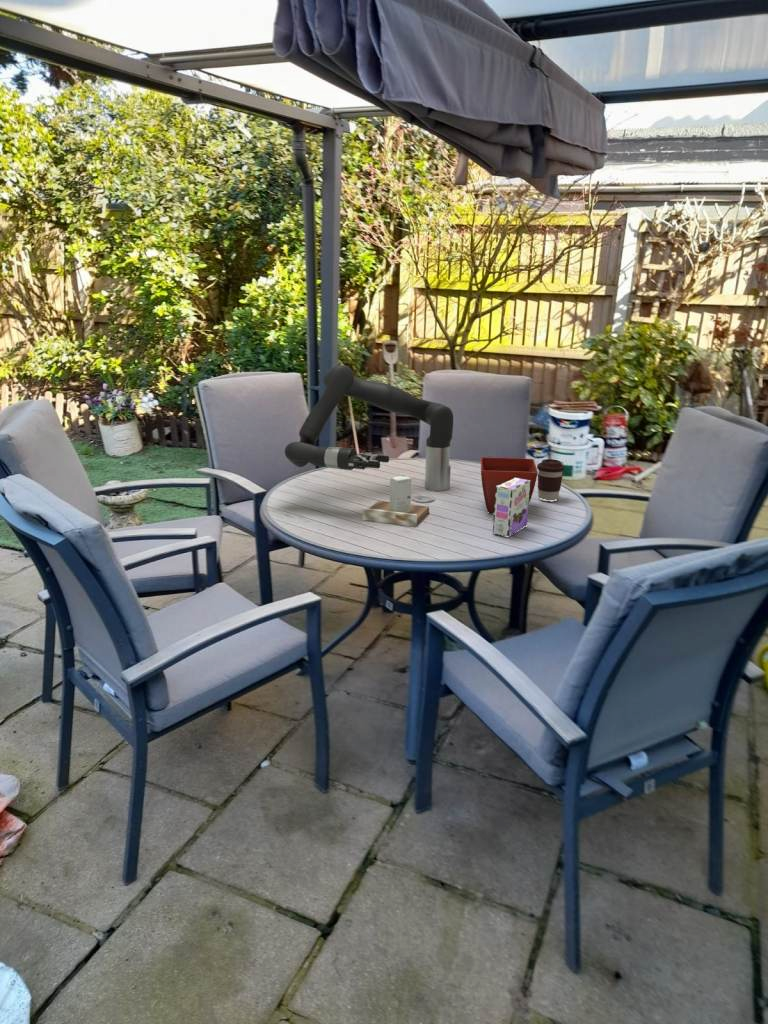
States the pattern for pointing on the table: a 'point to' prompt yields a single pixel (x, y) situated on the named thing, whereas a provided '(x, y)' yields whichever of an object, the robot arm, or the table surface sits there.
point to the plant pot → (505, 475)
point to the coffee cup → (549, 478)
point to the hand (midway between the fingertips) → (384, 462)
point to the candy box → (511, 506)
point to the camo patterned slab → (395, 514)
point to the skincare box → (400, 494)
